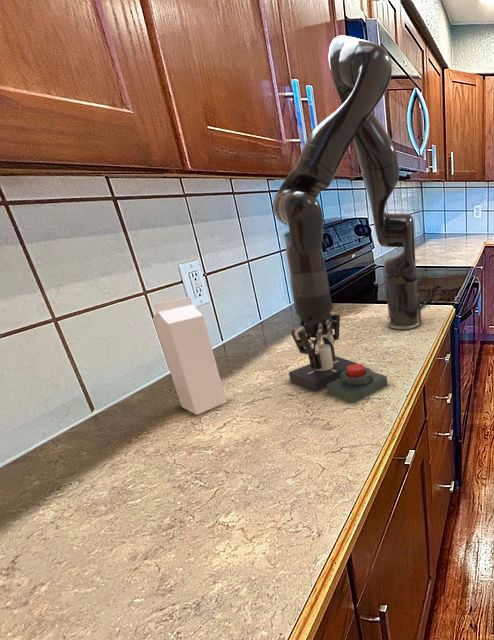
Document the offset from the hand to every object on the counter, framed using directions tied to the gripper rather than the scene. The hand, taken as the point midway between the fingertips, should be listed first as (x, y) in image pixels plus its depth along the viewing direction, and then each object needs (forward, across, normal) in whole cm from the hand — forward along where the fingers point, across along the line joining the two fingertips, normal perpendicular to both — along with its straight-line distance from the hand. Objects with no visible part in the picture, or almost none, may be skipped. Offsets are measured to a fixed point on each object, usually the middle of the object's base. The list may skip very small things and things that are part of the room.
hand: (323, 363), depth 96 cm
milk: (+3, -19, +16) cm, 25 cm away
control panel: (+3, 0, 0) cm, 3 cm away
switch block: (+4, -3, -10) cm, 11 cm away
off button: (0, -3, -11) cm, 11 cm away
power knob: (+1, 0, 0) cm, 1 cm away
